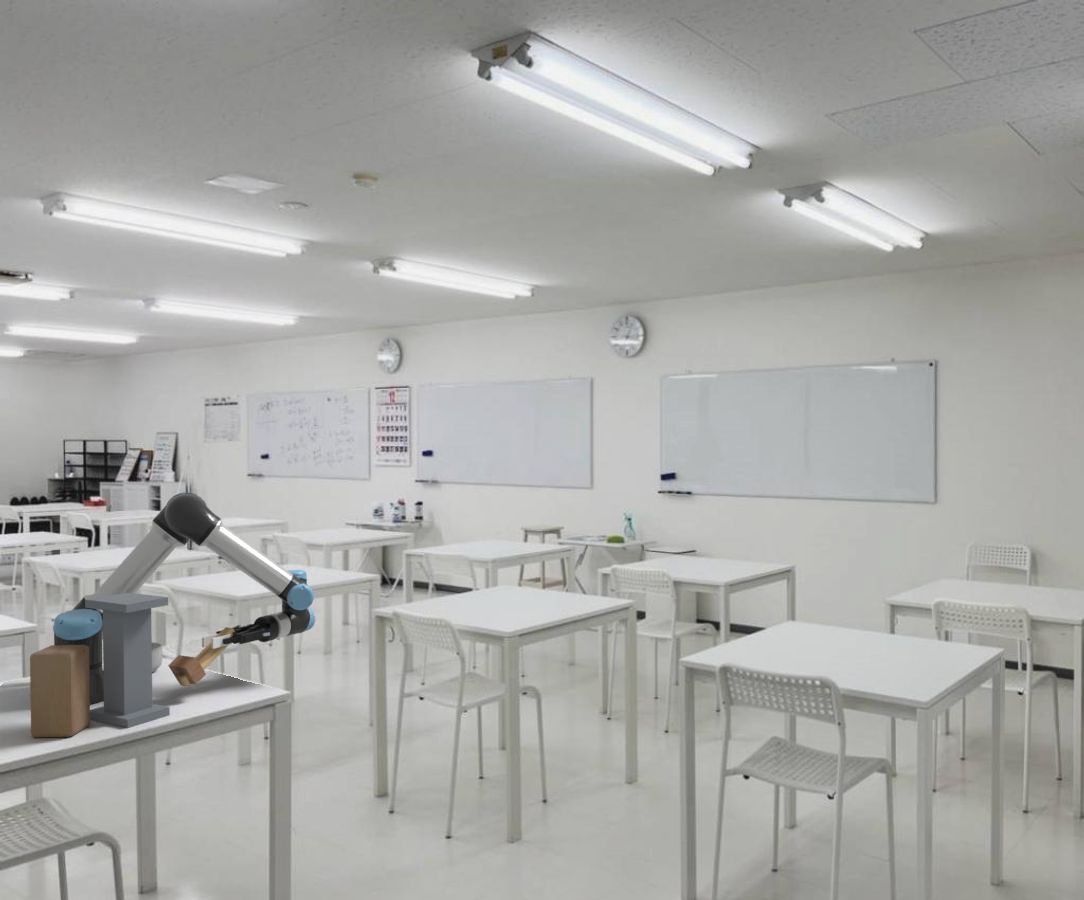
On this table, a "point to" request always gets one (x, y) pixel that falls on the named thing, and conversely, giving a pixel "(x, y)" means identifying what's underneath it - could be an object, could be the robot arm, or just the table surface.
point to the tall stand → (127, 659)
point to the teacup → (156, 655)
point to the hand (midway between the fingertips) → (207, 643)
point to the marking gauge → (196, 662)
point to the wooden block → (59, 690)
